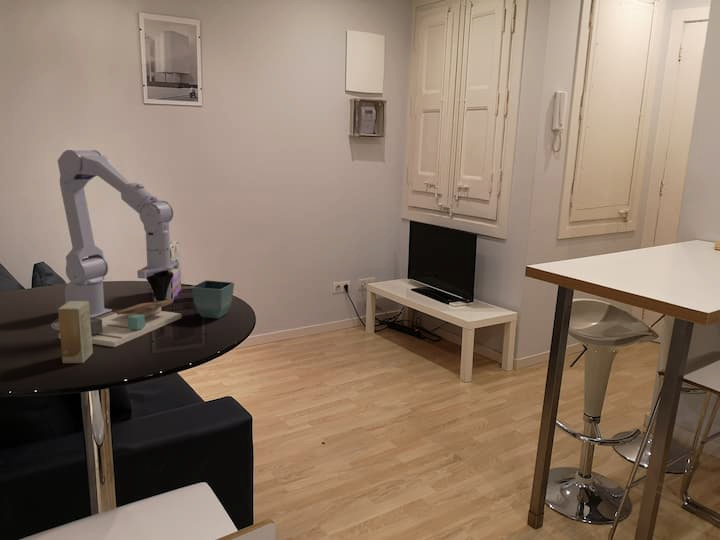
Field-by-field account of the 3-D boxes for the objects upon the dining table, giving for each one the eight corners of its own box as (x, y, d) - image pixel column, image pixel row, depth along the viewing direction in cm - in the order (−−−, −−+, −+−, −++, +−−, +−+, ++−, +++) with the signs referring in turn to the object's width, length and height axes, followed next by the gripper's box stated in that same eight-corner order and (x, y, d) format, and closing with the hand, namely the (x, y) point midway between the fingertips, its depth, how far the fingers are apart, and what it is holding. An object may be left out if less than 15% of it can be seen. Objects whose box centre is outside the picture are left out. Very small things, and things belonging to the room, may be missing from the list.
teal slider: (128, 328, 142) (127, 316, 141) (135, 325, 145) (135, 313, 144) (137, 329, 141) (137, 317, 141) (145, 326, 144) (144, 315, 143)
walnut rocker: (117, 314, 151) (116, 311, 151) (140, 306, 159) (139, 303, 159) (151, 310, 147) (151, 307, 147) (173, 302, 156) (172, 299, 156)
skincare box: (73, 353, 129) (69, 300, 126) (93, 353, 129) (89, 300, 126) (61, 364, 122) (56, 308, 120) (82, 363, 123) (78, 308, 120)
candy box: (163, 290, 187) (160, 240, 184) (181, 290, 188) (180, 240, 185) (152, 301, 174) (150, 247, 170) (173, 301, 174) (171, 247, 171)
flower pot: (222, 321, 155) (221, 289, 154) (191, 319, 157) (190, 286, 155) (235, 313, 164) (234, 282, 162) (206, 310, 165) (205, 280, 164)
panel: (59, 338, 138) (58, 325, 137) (132, 311, 162) (131, 300, 162) (114, 347, 133) (113, 333, 133) (181, 317, 158) (181, 306, 157)
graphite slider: (84, 333, 138) (83, 321, 137) (93, 330, 140) (92, 318, 140) (94, 334, 137) (93, 322, 136) (102, 331, 139) (101, 319, 139)
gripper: (153, 254, 141) (156, 308, 144) (188, 246, 154) (189, 295, 157) (129, 252, 143) (132, 305, 146) (165, 244, 156) (167, 293, 159)
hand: (160, 300), depth 151 cm, fingers closed
